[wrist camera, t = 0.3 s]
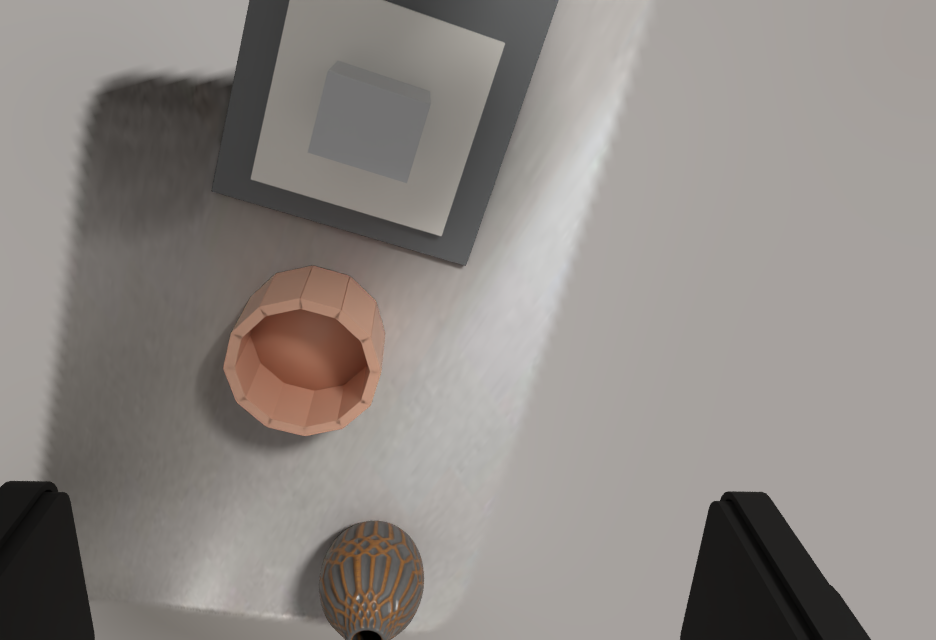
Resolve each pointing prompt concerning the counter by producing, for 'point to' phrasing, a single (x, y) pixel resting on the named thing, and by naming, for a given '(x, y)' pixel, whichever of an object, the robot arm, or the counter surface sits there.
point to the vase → (371, 581)
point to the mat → (523, 31)
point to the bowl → (306, 351)
